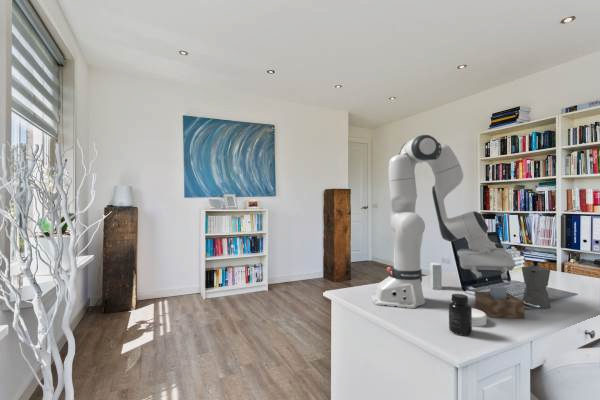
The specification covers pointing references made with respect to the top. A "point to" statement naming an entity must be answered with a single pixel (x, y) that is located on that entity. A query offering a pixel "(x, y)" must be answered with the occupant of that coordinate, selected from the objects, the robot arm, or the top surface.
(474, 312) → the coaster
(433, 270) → the skincare box
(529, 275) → the coffeepot
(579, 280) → the top surface
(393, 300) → the robot arm
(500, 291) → the square peg
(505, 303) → the socket block
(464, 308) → the supplement bottle
